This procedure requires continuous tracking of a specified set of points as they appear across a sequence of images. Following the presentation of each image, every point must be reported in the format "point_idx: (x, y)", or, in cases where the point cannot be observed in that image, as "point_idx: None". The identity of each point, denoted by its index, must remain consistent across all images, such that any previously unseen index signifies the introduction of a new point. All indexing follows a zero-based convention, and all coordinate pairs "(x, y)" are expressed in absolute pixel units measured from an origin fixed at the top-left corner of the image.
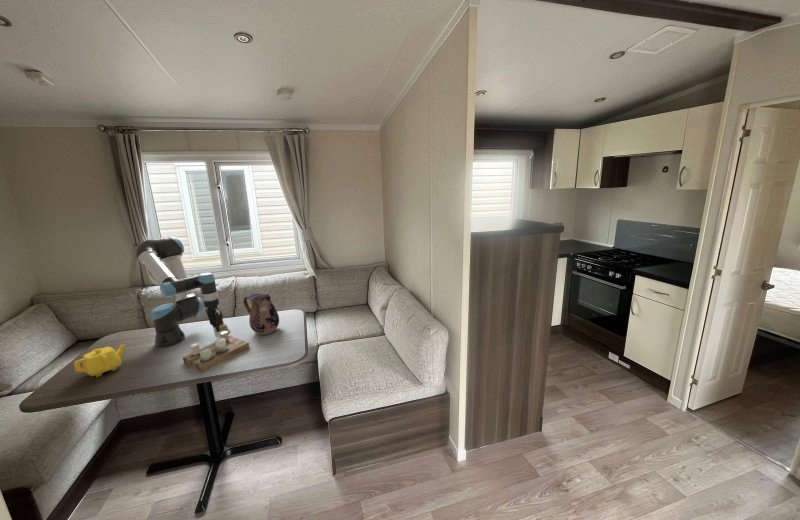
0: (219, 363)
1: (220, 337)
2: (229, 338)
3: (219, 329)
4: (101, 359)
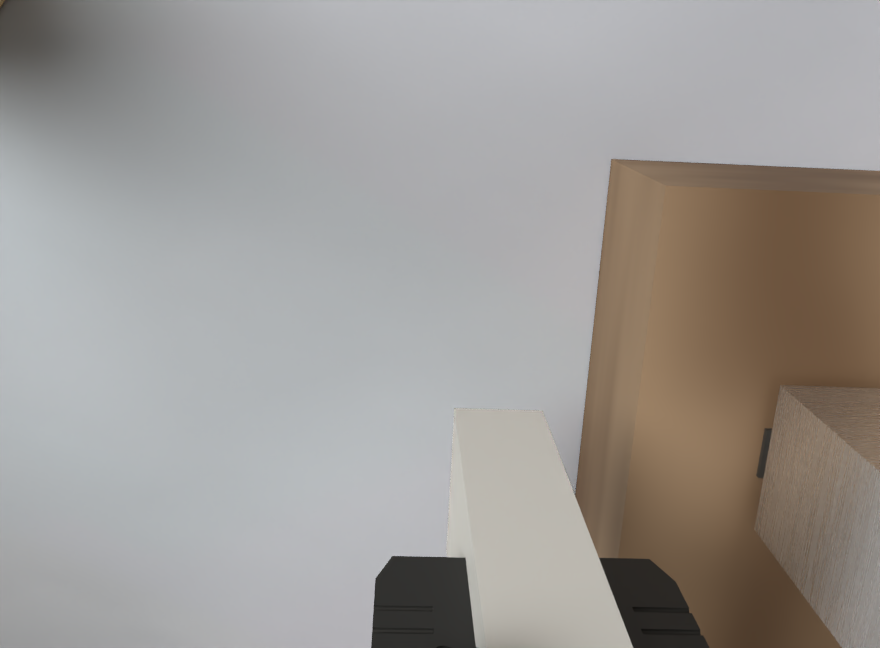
0: None
1: (809, 599)
2: (849, 317)
3: (688, 629)
4: None
